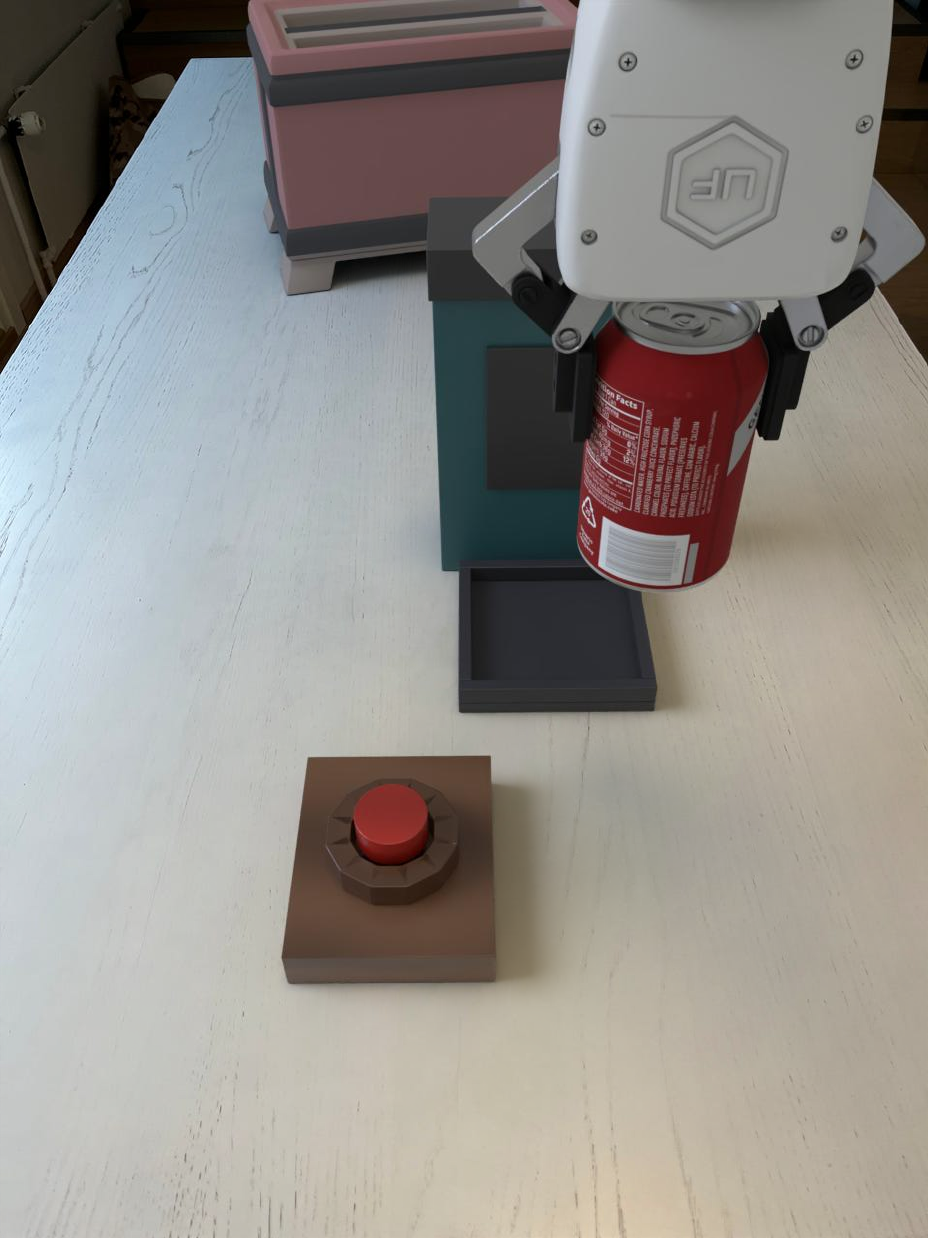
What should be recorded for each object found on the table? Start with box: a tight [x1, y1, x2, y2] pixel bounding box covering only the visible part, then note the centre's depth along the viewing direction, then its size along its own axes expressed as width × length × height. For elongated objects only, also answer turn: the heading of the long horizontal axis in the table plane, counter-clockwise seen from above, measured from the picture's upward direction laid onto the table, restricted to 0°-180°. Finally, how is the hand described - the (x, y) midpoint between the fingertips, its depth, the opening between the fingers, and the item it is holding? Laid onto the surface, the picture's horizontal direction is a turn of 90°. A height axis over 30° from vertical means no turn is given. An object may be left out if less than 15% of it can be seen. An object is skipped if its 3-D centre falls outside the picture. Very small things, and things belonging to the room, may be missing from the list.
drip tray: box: [457, 559, 658, 713], centre depth 68 cm, size 12×12×2 cm
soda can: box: [577, 301, 769, 594], centre depth 45 cm, size 7×7×12 cm
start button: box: [354, 784, 429, 865], centre depth 54 cm, size 4×4×2 cm
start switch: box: [280, 755, 496, 984], centre depth 55 cm, size 12×10×4 cm
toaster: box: [245, 0, 578, 296], centre depth 105 cm, size 19×34×21 cm, turn 104°
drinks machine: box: [425, 197, 613, 571], centre depth 68 cm, size 7×14×23 cm, turn 90°
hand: (669, 419), depth 44 cm, fingers closed on soda can, 6 cm apart
